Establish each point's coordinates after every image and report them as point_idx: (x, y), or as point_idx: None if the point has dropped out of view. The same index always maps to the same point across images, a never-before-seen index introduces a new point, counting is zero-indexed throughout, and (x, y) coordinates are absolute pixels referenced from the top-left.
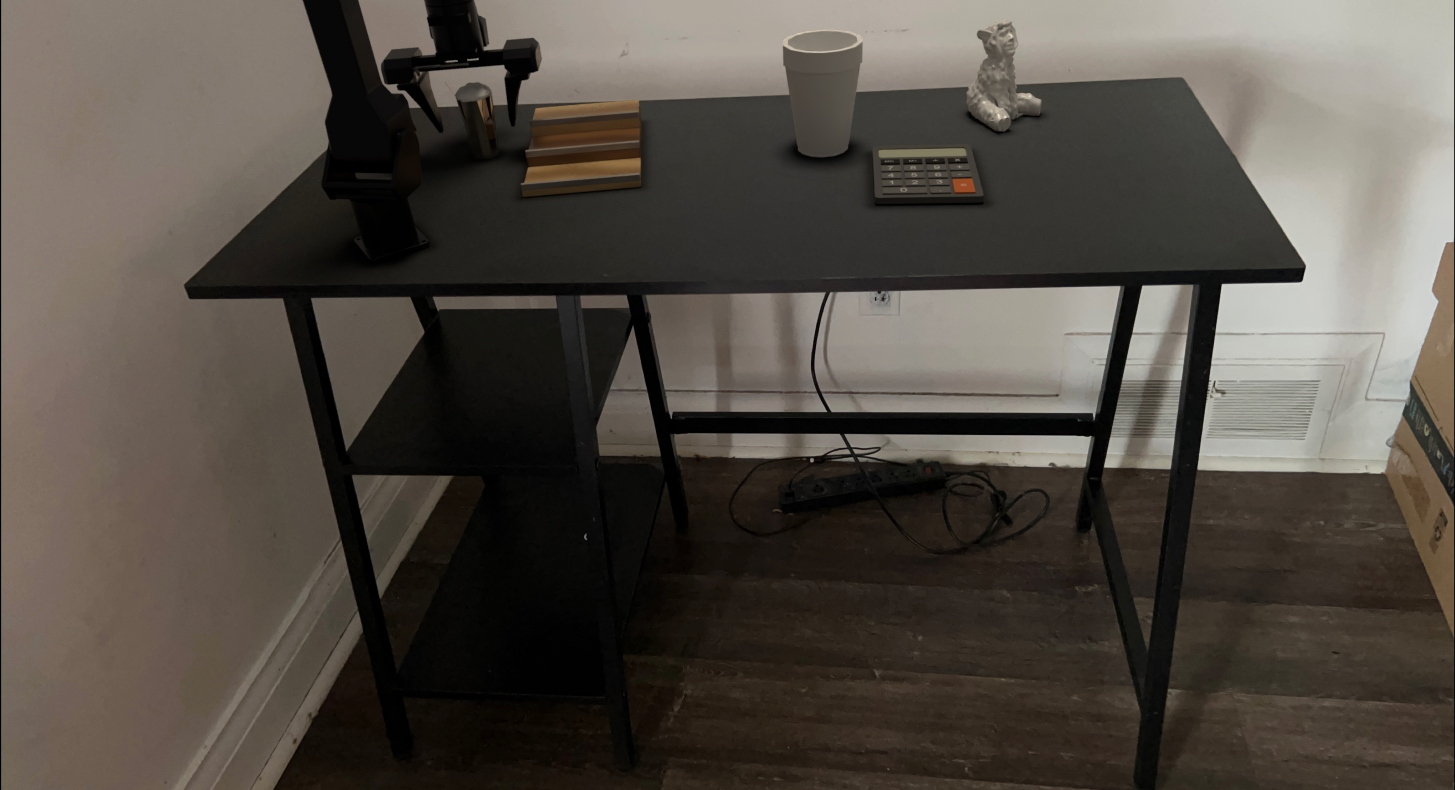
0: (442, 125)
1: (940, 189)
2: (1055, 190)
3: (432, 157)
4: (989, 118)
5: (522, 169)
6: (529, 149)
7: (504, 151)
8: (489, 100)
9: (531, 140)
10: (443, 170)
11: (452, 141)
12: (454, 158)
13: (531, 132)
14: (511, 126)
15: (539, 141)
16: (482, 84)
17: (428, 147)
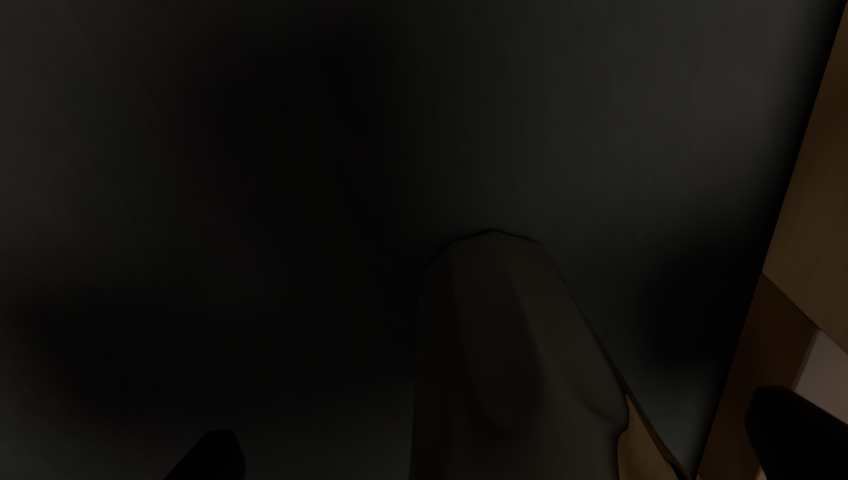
0: (223, 462)
1: None
2: None
3: (160, 282)
4: None
5: (671, 440)
6: (763, 475)
7: (585, 250)
8: None
9: (799, 385)
10: (303, 423)
11: (161, 17)
12: (306, 308)
13: (837, 345)
14: (746, 431)
15: (840, 402)
16: None
17: (26, 118)
